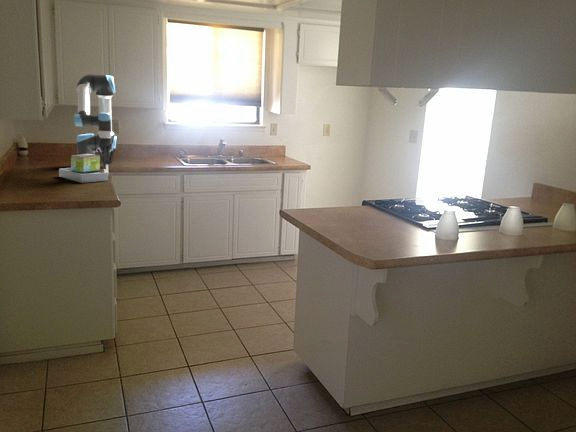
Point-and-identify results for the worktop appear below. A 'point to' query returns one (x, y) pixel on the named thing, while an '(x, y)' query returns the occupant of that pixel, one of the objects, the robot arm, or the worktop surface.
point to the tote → (82, 176)
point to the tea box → (85, 163)
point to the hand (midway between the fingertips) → (106, 174)
